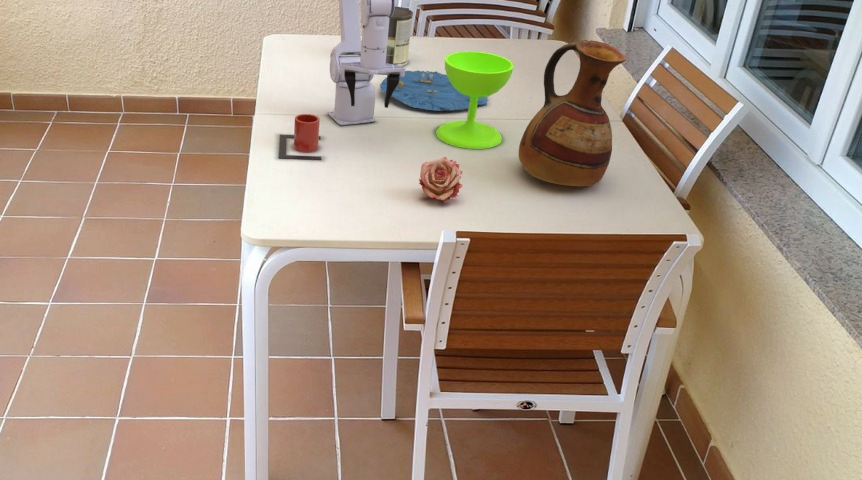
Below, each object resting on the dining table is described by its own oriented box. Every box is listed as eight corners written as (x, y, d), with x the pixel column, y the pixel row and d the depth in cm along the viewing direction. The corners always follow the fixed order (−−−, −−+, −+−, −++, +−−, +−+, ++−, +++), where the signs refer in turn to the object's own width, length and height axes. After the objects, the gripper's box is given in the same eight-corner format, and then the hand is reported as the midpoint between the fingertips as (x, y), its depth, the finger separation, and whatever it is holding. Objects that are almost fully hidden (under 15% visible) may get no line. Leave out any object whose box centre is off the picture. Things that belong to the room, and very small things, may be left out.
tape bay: (320, 136, 229) (320, 136, 229) (321, 160, 218) (321, 159, 217) (279, 135, 228) (279, 134, 228) (278, 158, 217) (278, 157, 217)
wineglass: (459, 152, 225) (469, 76, 215) (423, 128, 237) (431, 54, 227) (515, 143, 232) (527, 69, 222) (477, 120, 243) (487, 48, 233)
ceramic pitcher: (586, 204, 206) (618, 65, 189) (500, 179, 214) (522, 43, 197) (616, 174, 220) (648, 42, 203) (534, 152, 228) (558, 23, 211)
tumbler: (312, 141, 226) (313, 113, 222) (321, 151, 222) (323, 121, 218) (290, 144, 224) (291, 115, 220) (299, 153, 220) (300, 124, 216)
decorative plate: (457, 76, 274) (460, 58, 271) (505, 113, 251) (509, 93, 248) (360, 77, 265) (362, 58, 262) (400, 116, 242) (402, 95, 239)
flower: (415, 176, 209) (415, 157, 201) (457, 169, 209) (458, 150, 201) (423, 216, 205) (423, 198, 198) (465, 209, 205) (467, 190, 198)
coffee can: (374, 66, 273) (379, 15, 265) (370, 55, 282) (373, 5, 274) (410, 67, 274) (416, 16, 266) (404, 56, 283) (409, 6, 275)
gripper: (341, 49, 210) (338, 110, 218) (408, 53, 211) (402, 113, 218) (341, 39, 216) (337, 99, 223) (405, 43, 216) (399, 102, 224)
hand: (369, 105), depth 221 cm, fingers open, 7 cm apart
